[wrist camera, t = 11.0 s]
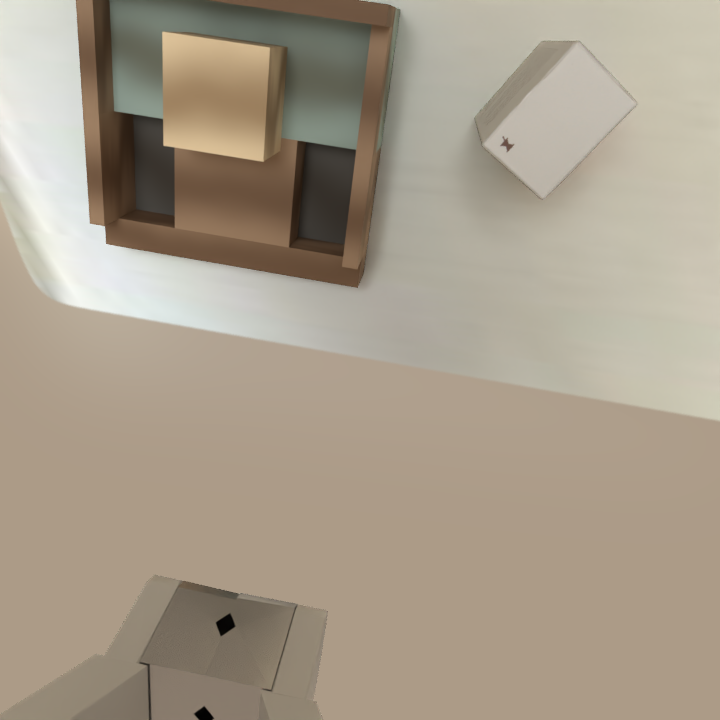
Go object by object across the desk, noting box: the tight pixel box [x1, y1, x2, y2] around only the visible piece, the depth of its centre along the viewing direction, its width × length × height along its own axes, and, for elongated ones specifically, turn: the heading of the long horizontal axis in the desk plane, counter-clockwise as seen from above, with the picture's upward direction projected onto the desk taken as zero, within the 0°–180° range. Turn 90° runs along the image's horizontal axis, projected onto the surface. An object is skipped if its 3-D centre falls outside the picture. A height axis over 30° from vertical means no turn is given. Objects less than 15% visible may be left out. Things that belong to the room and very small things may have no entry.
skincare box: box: [475, 41, 637, 199], centre depth 35 cm, size 6×4×12 cm
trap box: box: [76, 0, 400, 288], centre depth 41 cm, size 17×18×7 cm
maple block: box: [162, 32, 288, 162], centre depth 38 cm, size 6×6×4 cm
